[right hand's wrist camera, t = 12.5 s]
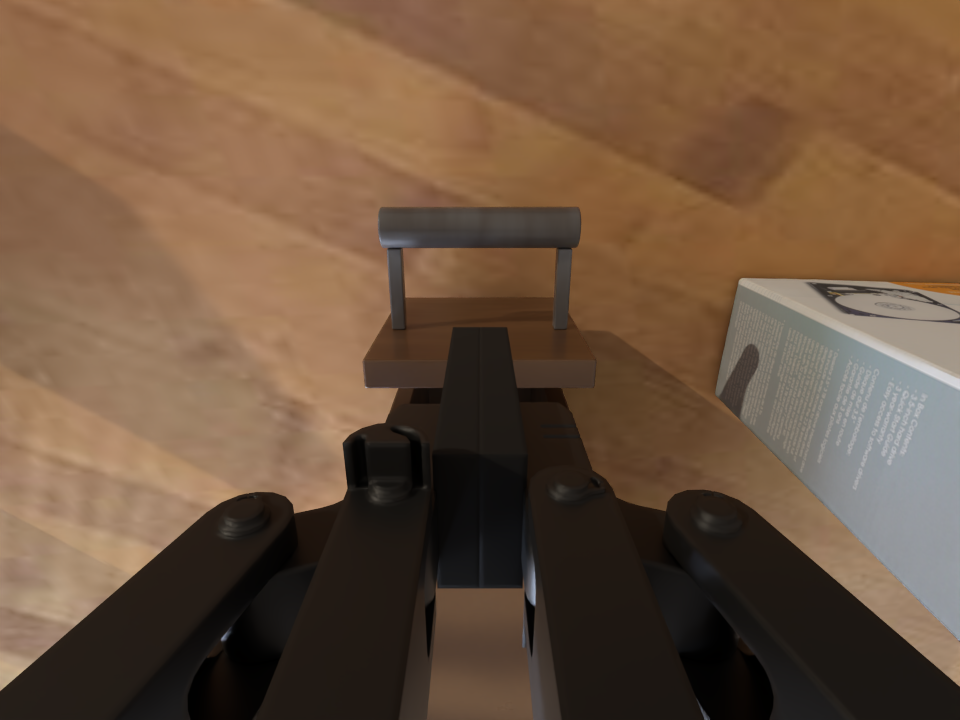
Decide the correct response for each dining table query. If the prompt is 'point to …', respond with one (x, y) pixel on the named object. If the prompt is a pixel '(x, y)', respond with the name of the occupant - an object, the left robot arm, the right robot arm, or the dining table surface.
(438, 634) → the cabinet
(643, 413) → the dining table surface
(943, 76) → the dining table surface
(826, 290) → the hard drive box
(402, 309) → the drawer
